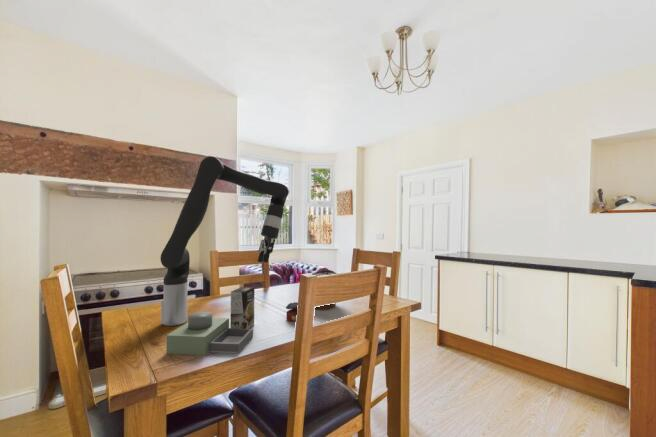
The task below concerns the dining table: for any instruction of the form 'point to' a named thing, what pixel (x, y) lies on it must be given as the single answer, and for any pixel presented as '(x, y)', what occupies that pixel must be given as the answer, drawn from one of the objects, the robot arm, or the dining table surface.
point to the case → (325, 272)
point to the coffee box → (242, 308)
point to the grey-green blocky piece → (207, 336)
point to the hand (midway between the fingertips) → (262, 262)
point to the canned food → (292, 311)
